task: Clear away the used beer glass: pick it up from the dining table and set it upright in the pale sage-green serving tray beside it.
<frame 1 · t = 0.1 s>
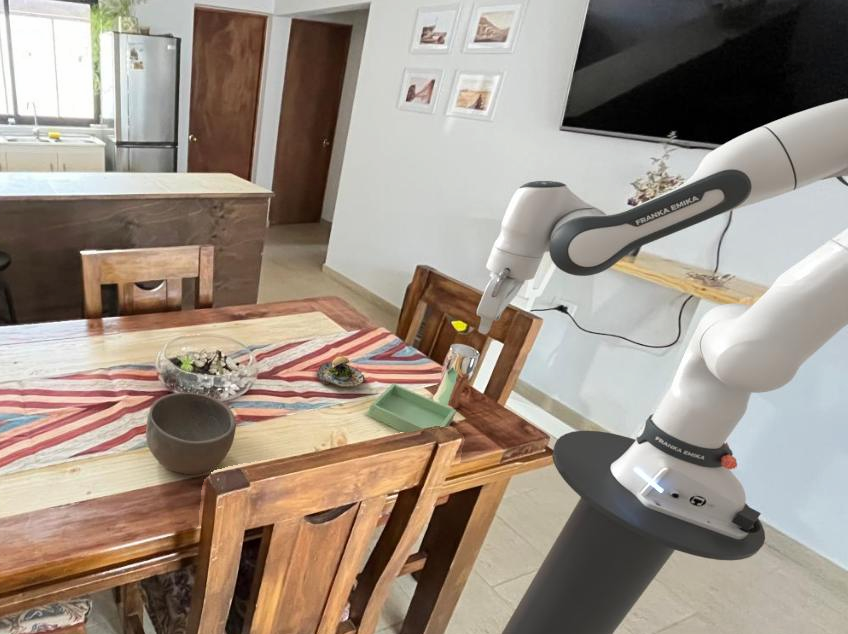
hand: (488, 325, 109), 26 cm above the table, tool pointing down, fingers open, 8 cm apart
serving tray: (410, 418, 122), on the table
burger: (339, 379, 135), on the table
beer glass: (445, 402, 130), on the table
bowl: (187, 456, 103), on the table
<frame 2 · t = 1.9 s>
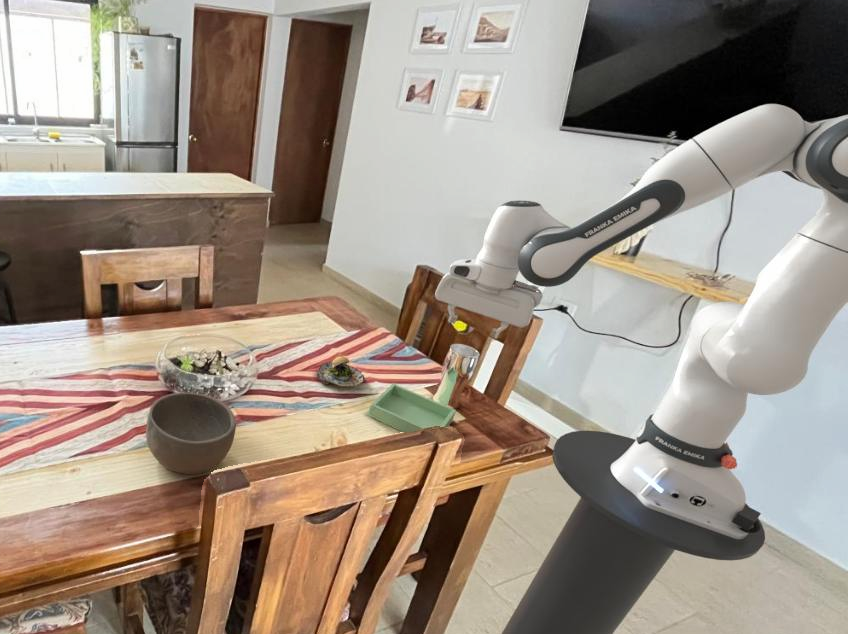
hand: (472, 329, 120), 21 cm above the table, tool pointing down, fingers open, 8 cm apart
nothing on the table moved.
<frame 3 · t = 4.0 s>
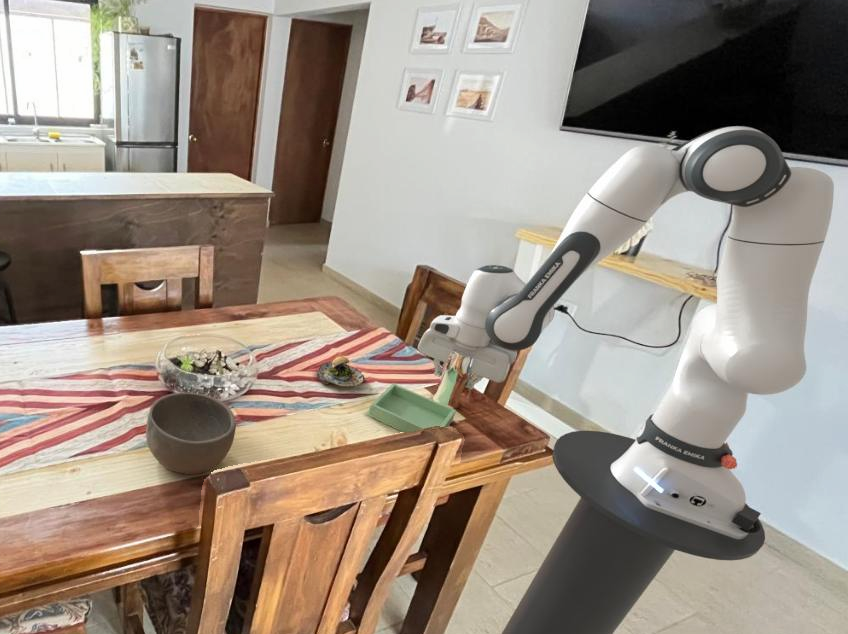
hand: (453, 381, 127), 6 cm above the table, tool pointing down, fingers closed on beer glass, 6 cm apart
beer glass: (445, 402, 130), on the table, touching gripper
everything else where it was.
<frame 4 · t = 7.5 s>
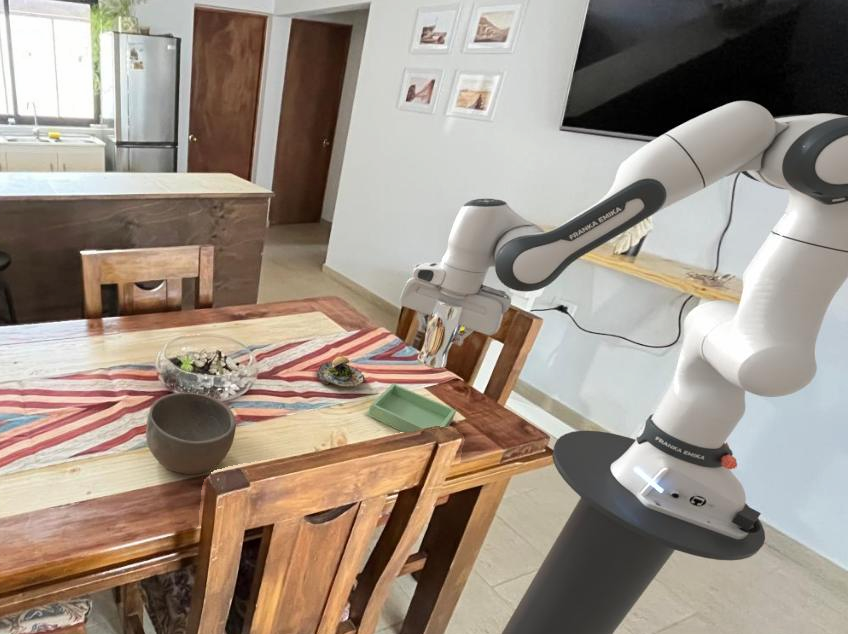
hand: (439, 337, 112), 22 cm above the table, tool pointing down, fingers closed on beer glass, 6 cm apart
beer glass: (430, 362, 115), point 15 cm above the table, touching gripper
everything else where it was.
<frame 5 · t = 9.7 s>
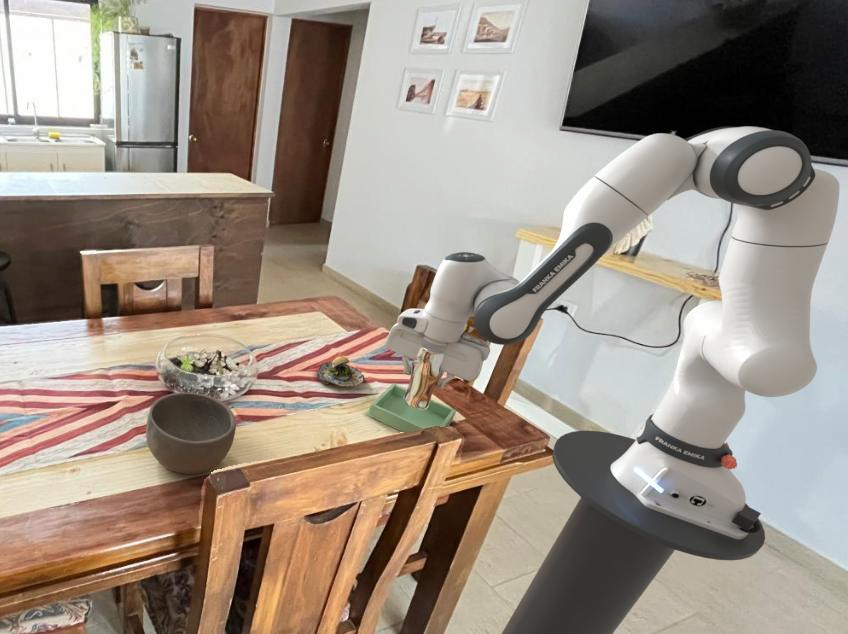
hand: (423, 380, 117), 11 cm above the table, tool pointing down, fingers closed on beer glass, 6 cm apart
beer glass: (415, 403, 120), point 4 cm above the table, touching gripper
everything else where it was.
when the fingers open (7 cm above the table, at t = 11.3 s): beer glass stays where it is, resting on serving tray.
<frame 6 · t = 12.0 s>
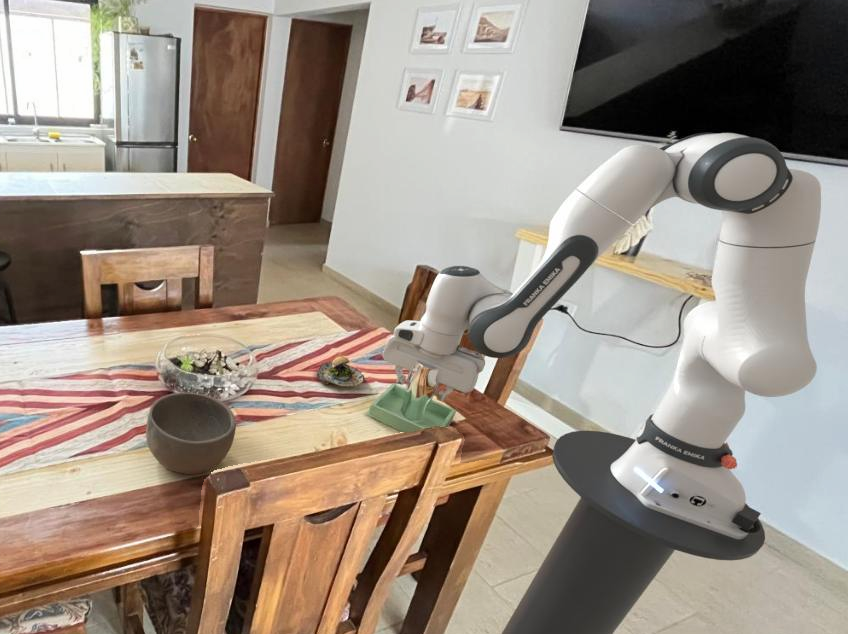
hand: (419, 391, 118), 8 cm above the table, tool pointing down, fingers open, 8 cm apart
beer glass: (411, 416, 122), resting on serving tray
everything else where it was.
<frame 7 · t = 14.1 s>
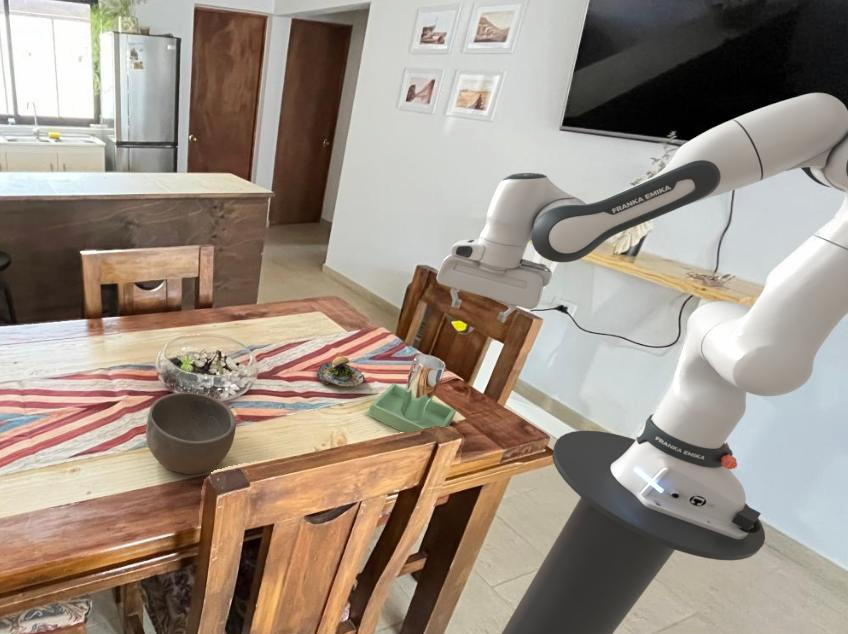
hand: (477, 314, 113), 27 cm above the table, tool pointing down, fingers open, 8 cm apart
nothing on the table moved.
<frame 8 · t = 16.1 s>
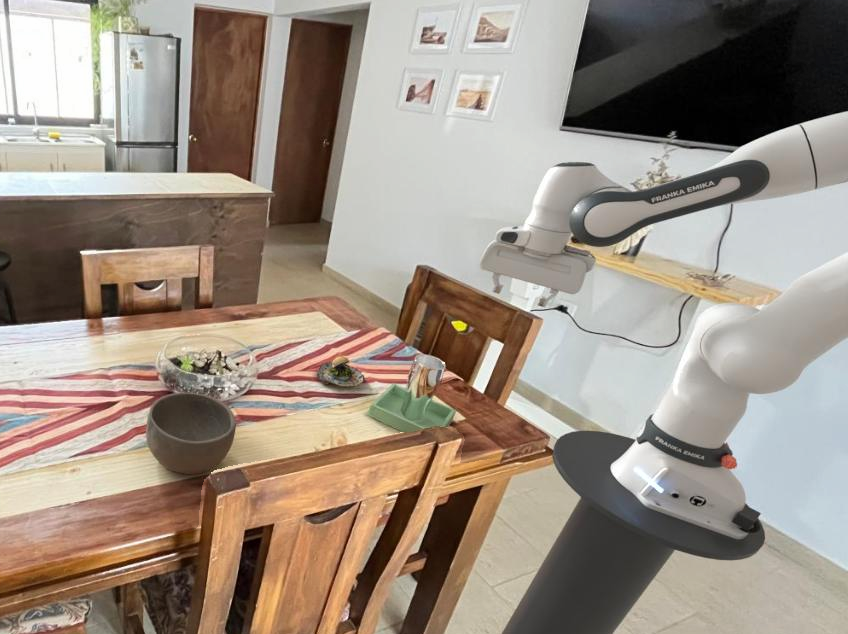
hand: (518, 299, 117), 29 cm above the table, tool pointing down, fingers open, 8 cm apart
nothing on the table moved.
at the end: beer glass inside the target area in the serving tray (0.1 cm from its centre), point 0.4 cm above the serving tray's base; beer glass tilted 0°; the gripper is holding nothing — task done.
